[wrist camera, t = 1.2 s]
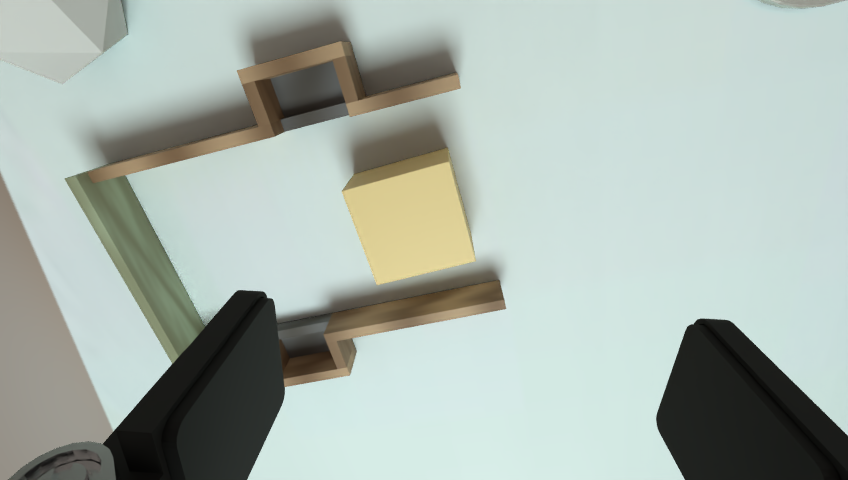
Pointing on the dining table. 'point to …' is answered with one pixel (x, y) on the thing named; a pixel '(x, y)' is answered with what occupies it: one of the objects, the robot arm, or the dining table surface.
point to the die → (58, 34)
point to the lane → (275, 113)
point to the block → (410, 217)
